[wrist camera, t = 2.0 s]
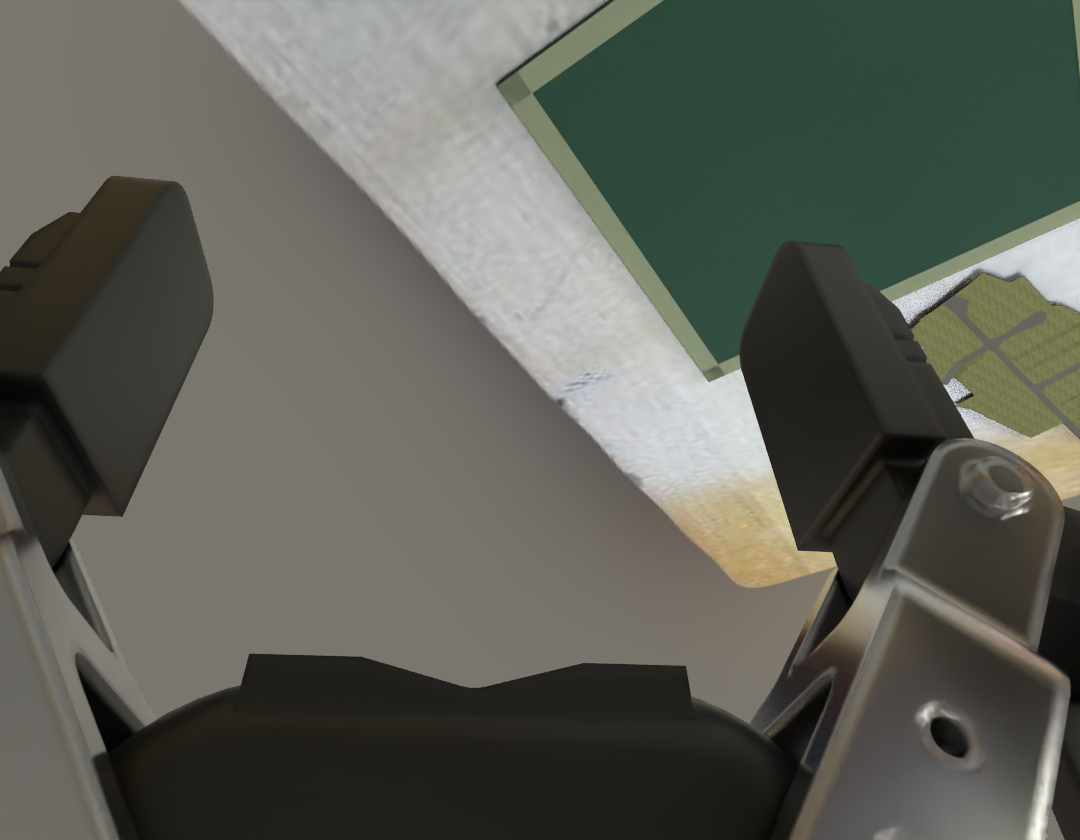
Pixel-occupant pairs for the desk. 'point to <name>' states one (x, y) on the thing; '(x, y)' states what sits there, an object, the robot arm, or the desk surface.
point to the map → (1008, 353)
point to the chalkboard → (807, 140)
